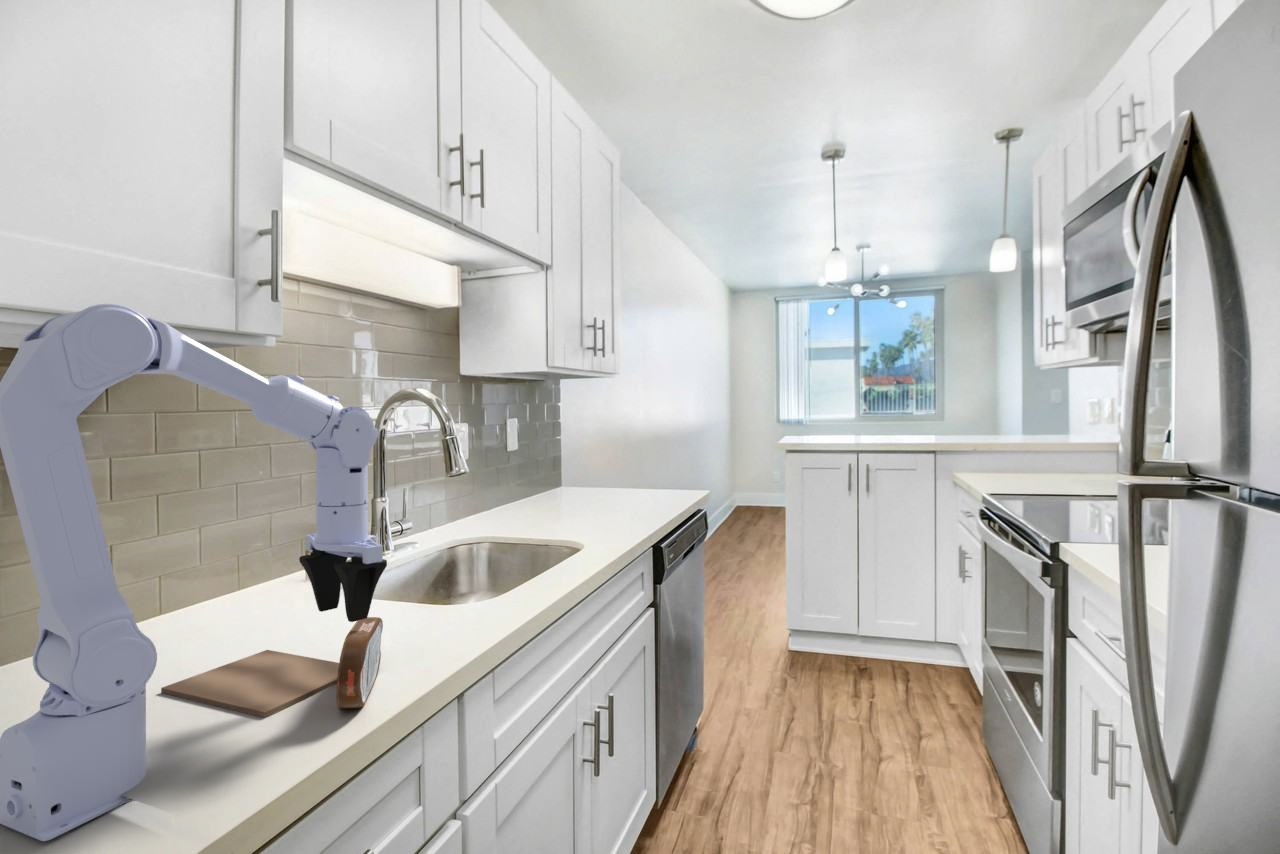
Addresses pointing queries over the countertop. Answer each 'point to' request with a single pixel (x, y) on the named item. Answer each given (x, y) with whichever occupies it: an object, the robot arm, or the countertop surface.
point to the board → (259, 683)
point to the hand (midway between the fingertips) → (342, 614)
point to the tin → (359, 663)
